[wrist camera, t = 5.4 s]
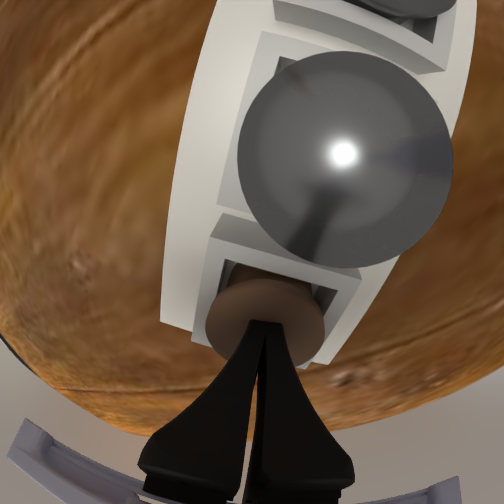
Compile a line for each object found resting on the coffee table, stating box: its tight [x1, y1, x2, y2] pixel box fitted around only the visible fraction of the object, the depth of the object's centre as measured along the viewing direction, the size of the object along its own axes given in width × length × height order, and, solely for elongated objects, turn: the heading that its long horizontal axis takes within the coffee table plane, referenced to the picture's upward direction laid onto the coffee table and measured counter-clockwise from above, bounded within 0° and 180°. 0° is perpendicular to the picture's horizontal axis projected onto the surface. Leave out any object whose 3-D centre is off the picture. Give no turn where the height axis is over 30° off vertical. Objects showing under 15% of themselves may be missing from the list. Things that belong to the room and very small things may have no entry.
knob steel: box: [237, 51, 453, 268], centre depth 7 cm, size 5×5×4 cm
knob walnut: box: [205, 262, 325, 367], centre depth 13 cm, size 5×5×4 cm
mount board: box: [160, 0, 477, 369], centre depth 10 cm, size 12×27×4 cm, turn 165°
